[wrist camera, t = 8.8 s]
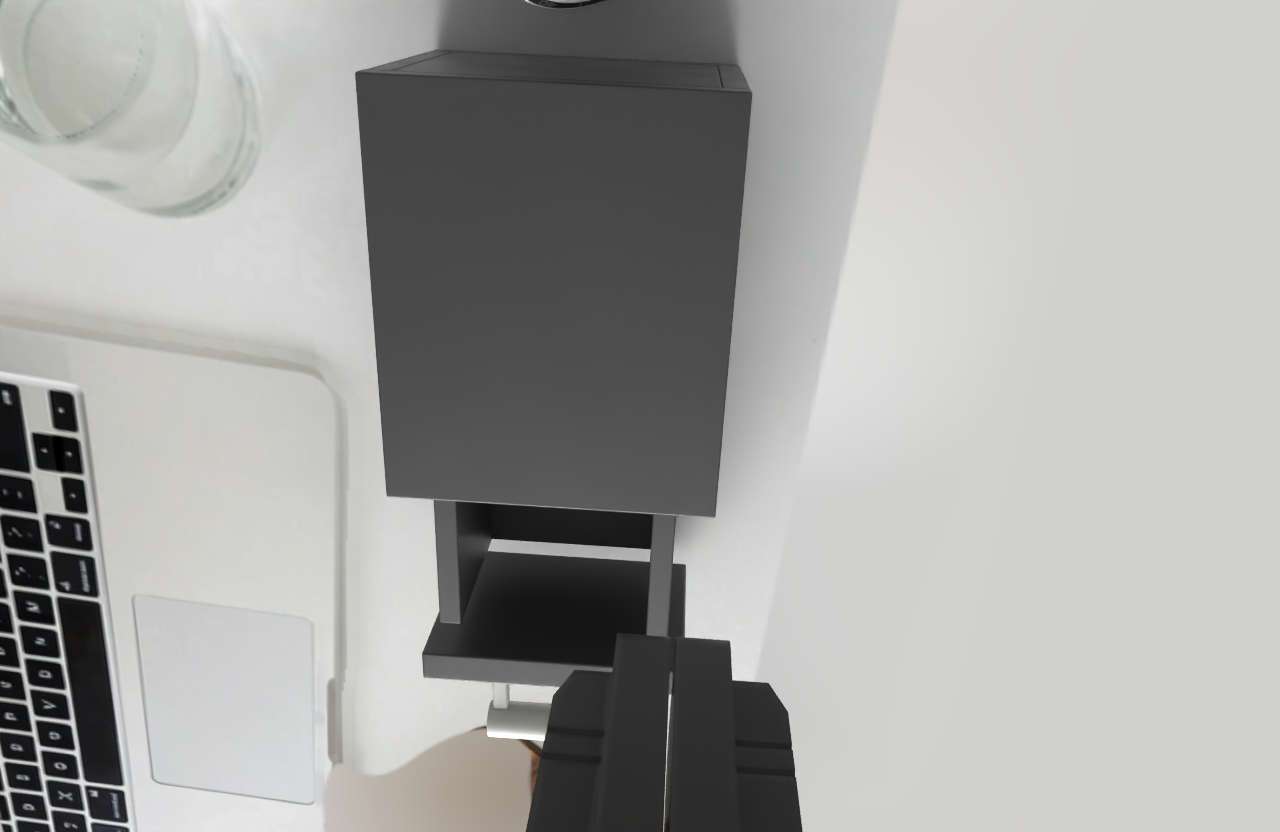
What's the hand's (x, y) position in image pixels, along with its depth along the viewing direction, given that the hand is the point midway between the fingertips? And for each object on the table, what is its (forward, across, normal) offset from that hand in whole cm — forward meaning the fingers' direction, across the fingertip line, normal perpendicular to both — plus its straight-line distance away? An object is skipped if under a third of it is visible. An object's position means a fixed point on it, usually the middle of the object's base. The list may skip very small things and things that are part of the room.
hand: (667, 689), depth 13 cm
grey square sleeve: (+27, +4, +1) cm, 27 cm away
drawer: (+26, +4, +12) cm, 29 cm away
